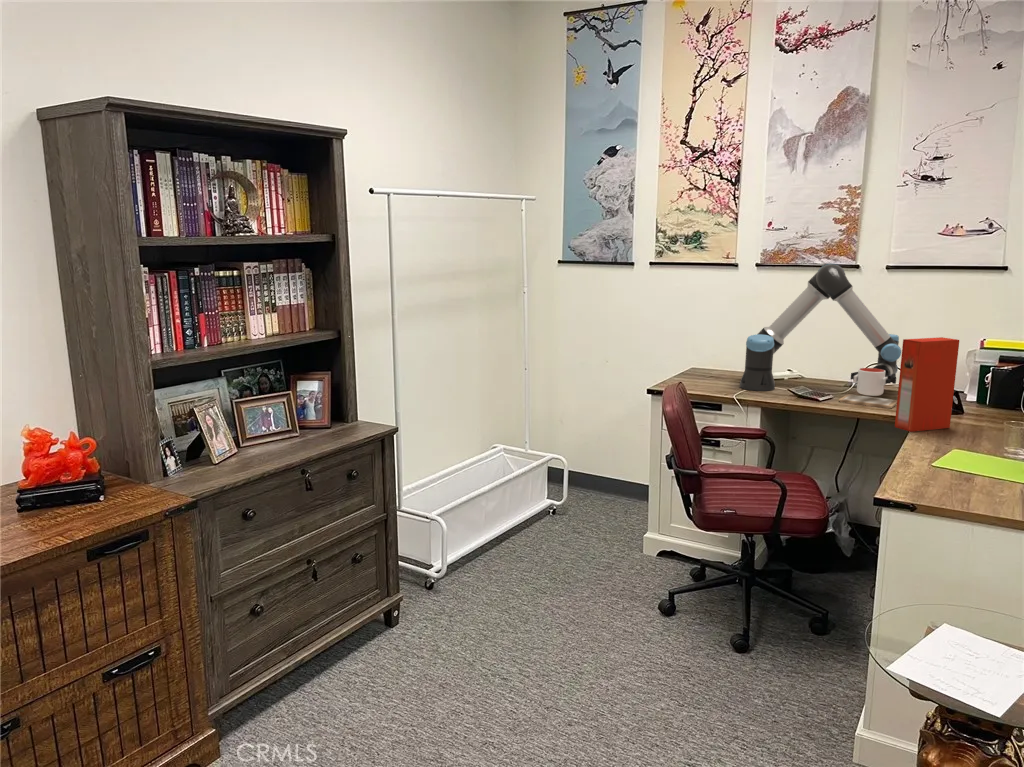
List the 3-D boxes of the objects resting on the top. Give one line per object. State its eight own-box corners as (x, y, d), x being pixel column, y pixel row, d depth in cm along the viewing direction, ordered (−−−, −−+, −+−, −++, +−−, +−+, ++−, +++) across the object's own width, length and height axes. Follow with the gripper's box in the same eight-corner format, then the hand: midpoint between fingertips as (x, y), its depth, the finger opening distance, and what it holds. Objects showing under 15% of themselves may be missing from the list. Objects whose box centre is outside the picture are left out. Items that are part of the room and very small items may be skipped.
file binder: (893, 426, 273) (903, 338, 267) (930, 423, 279) (940, 336, 272) (912, 432, 266) (921, 342, 259) (949, 428, 271) (960, 339, 265)
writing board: (838, 402, 313) (838, 399, 313) (847, 396, 324) (847, 393, 324) (891, 408, 301) (891, 406, 301) (898, 402, 312) (898, 400, 312)
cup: (877, 391, 316) (880, 368, 314) (887, 396, 306) (889, 372, 304) (853, 391, 317) (855, 367, 315) (861, 396, 307) (863, 372, 305)
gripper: (909, 384, 318) (898, 393, 301) (852, 378, 332) (838, 386, 315) (911, 367, 317) (899, 375, 300) (853, 361, 330) (840, 369, 313)
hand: (868, 381), depth 307 cm, fingers closed on cup, 10 cm apart
